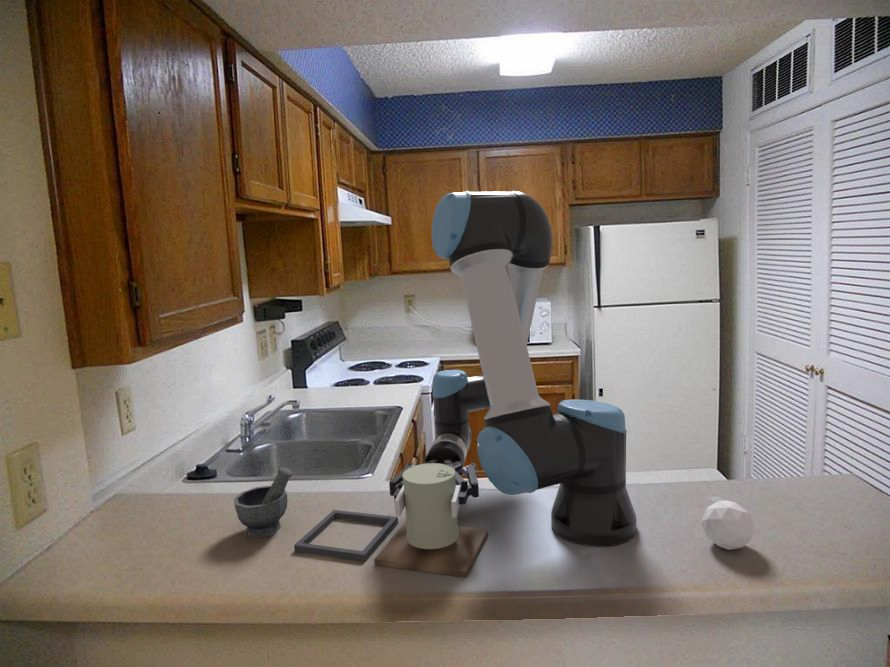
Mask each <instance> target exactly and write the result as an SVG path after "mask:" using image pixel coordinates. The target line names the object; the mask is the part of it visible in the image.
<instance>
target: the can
mask: <svg viewBox="0 0 890 667" xmlns="http://www.w3.org/2000/svg"><path fill="white" fill-rule="evenodd" d="M402 477H403V485H404V497H405V507H404V509H405V521H406V527H407V534H406V539H407V541H408V543H409V544H411V545H412V546H414V547H417V548H421V549H439V548H443V547H446V546H449V545H451V544H452V543H454V542H455V541H456V540H457V539H458V537H459V531H458V526H459V524H458V516H457V517H452V508H451V501H452V498H453V494H454V491H455V489H456V487H455V470H454V469H453V468H452V467H451V466H448V465H445V464H439V463H426V464H422V463H421V464H416V465H415V466H413V467H410V468H408V469H407V470H405V471H404V473H403V475H402Z"/></svg>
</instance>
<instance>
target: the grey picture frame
mask: <svg viewBox="0 0 890 667" xmlns="http://www.w3.org/2000/svg"><path fill="white" fill-rule="evenodd" d="M398 517H399V516H392V515H382V514H373V513H366V512H365V513H364V512H356V511H347V510H339V509H333V510H332V511H331V512H329V513H328V514H327V515H326V516H324V518H323V519H322V520H320V521H319V522H318V523H317V524H316V525H315V526H314V527H312V528H311V529H310V530H309V531H308V532H306V534H305V535H304V536H302V537H301V538H300V539H299V540H298V541H297V542H296V543H295V544H293V548H294V549H293V550H294V552H297V553H301V554H302V553H304V554H310V555H317V556H325V557H330V558H331V557H332V558H338V559H346V560H352V561H353V560H354V561H358V562H359V561H360V562H366V561H367V560H368V559H369V558H370V557H371V556H372V555H373V553H374V552H375V551H376V550H377V548H378V547H379V546H380V545H381V544H382V543H383V542H384V540H385V539H386V538H387V537H388V536H389V534H391V532H392V531H393V530H394V528H396V526H397V525H398V523H399V518H398ZM336 519H338V520H339V519H340V520H346V521H347V520H349V521H355V522H356V521H357V522H366V523H374V524H382V525H384V526H383V527H382V528H381V530H380V531H378V533H377V534H376V535H375V536H374V537H373V538H372V540H370V542H369V543H368V544H367V545H366V546H365V548H364V549H363V550H356V549H349V548H342V547H337V546H336V547H334V546H328V545H320V544H319V545H318V544H314V543H311V542H313V540H315V538H317V537H318V535H320V534H321V533H322V532H323V531H324V530H325V529H326V528H327V527H328V526H329V525H330V524H331V523H333V522H334V521H335V520H336Z"/></svg>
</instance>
